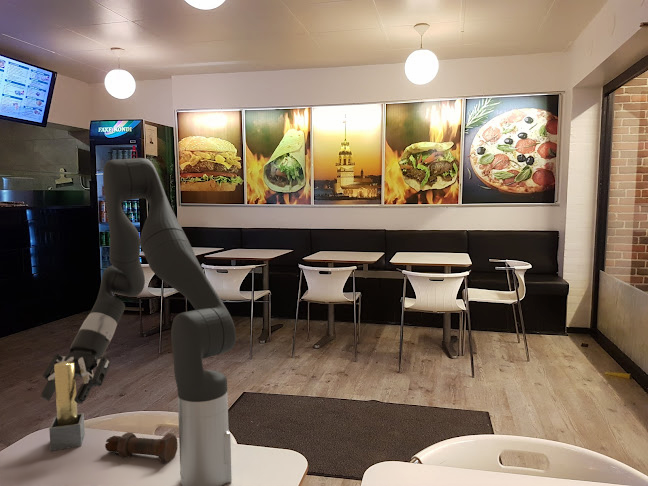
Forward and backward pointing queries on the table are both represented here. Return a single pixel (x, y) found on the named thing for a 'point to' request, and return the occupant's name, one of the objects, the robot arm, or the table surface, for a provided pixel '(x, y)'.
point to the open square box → (67, 434)
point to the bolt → (144, 446)
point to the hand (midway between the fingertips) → (61, 400)
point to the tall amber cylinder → (65, 393)
